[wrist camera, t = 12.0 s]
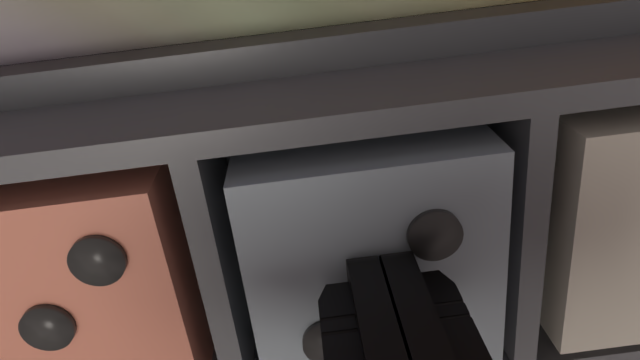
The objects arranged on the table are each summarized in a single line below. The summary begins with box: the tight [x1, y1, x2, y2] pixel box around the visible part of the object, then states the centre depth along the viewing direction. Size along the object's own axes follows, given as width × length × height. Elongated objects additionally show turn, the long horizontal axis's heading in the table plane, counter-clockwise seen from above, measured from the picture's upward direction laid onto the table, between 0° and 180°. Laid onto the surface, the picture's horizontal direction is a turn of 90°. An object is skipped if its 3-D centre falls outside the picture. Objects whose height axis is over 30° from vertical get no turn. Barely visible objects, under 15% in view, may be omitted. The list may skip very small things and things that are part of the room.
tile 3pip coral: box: [0, 164, 214, 360], centre depth 14 cm, size 6×6×4 cm
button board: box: [0, 0, 640, 360], centre depth 15 cm, size 24×10×5 cm, turn 96°
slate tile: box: [223, 124, 515, 360], centre depth 14 cm, size 6×6×4 cm
